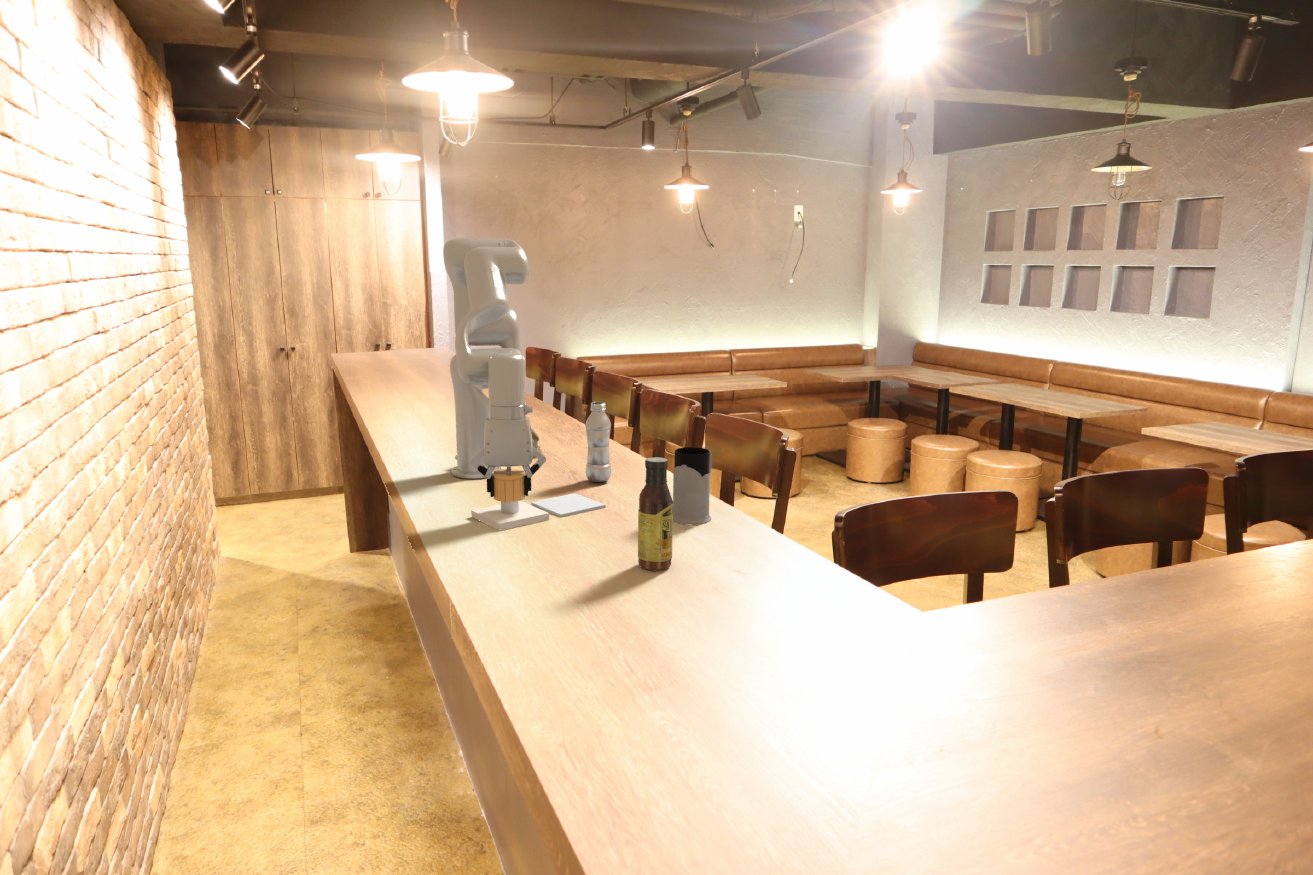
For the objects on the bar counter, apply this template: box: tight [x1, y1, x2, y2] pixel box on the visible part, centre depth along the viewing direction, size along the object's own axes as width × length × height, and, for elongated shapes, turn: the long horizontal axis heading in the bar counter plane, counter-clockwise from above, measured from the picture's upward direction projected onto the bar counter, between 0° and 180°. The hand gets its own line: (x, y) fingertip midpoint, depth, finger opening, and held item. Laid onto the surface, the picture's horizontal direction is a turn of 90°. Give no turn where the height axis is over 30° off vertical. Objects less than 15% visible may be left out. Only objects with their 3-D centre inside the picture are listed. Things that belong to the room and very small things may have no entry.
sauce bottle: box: [637, 456, 674, 572], centre depth 149 cm, size 6×6×20 cm
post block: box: [470, 500, 550, 531], centre depth 177 cm, size 12×12×8 cm
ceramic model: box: [531, 427, 544, 459], centre depth 237 cm, size 14×11×10 cm
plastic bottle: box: [584, 401, 612, 483], centre depth 206 cm, size 6×7×20 cm
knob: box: [493, 466, 526, 502], centre depth 176 cm, size 7×7×6 cm
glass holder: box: [672, 446, 713, 525], centre depth 180 cm, size 9×14×15 cm, turn 152°
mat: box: [530, 492, 607, 518], centre depth 187 cm, size 12×12×1 cm
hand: (509, 494), depth 177 cm, fingers closed on knob, 6 cm apart
